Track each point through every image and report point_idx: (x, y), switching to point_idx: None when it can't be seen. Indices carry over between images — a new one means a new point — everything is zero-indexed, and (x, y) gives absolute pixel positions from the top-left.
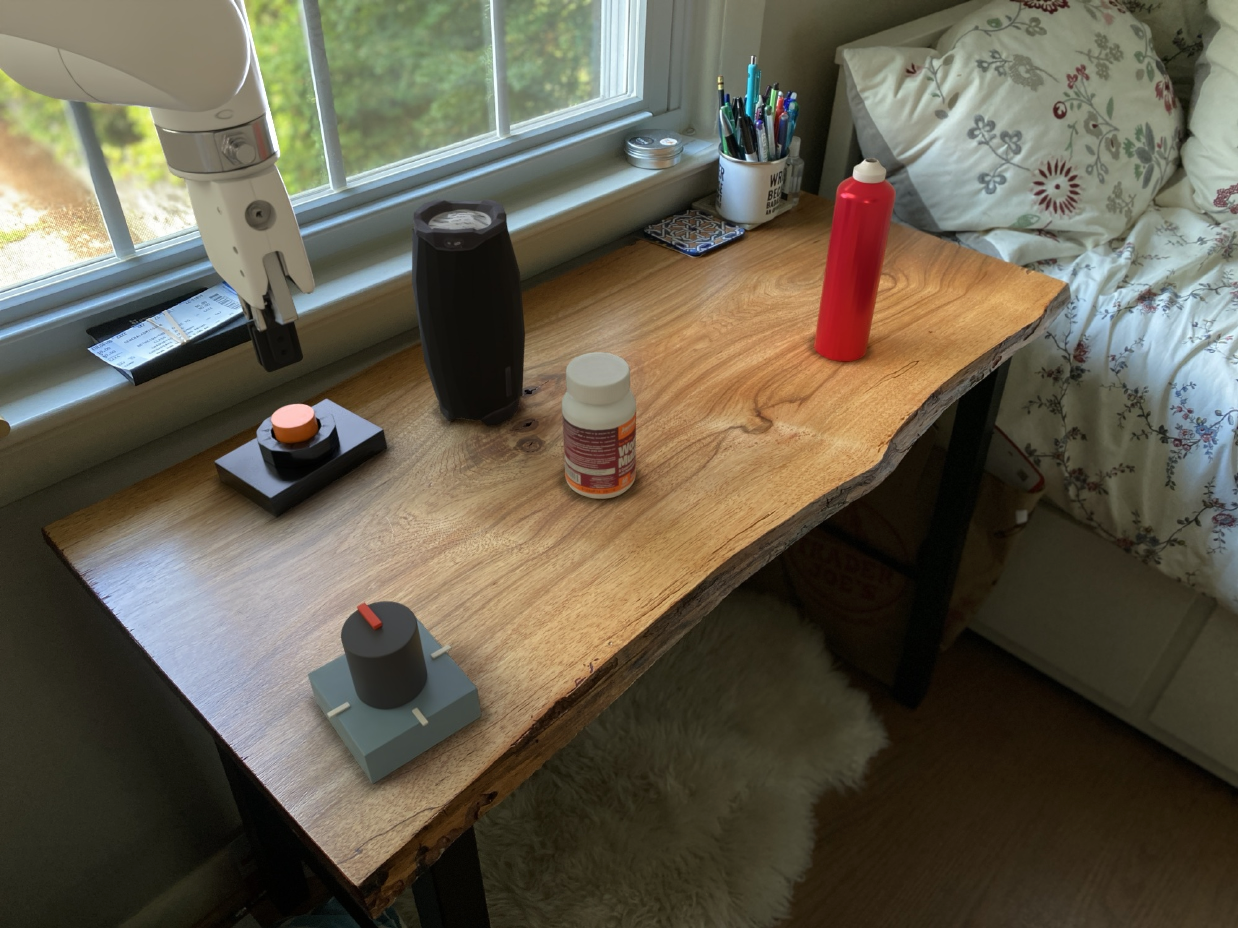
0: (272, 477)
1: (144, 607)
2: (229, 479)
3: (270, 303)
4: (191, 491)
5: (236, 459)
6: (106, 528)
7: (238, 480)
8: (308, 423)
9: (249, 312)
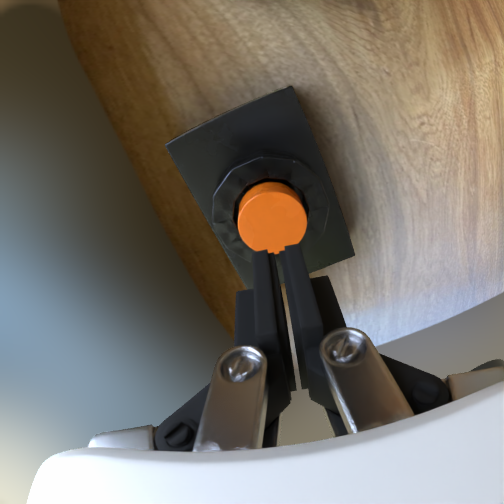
0: (320, 247)
1: (378, 335)
2: None
3: (269, 393)
4: None
5: None
6: None
7: None
8: (302, 206)
9: (280, 419)
